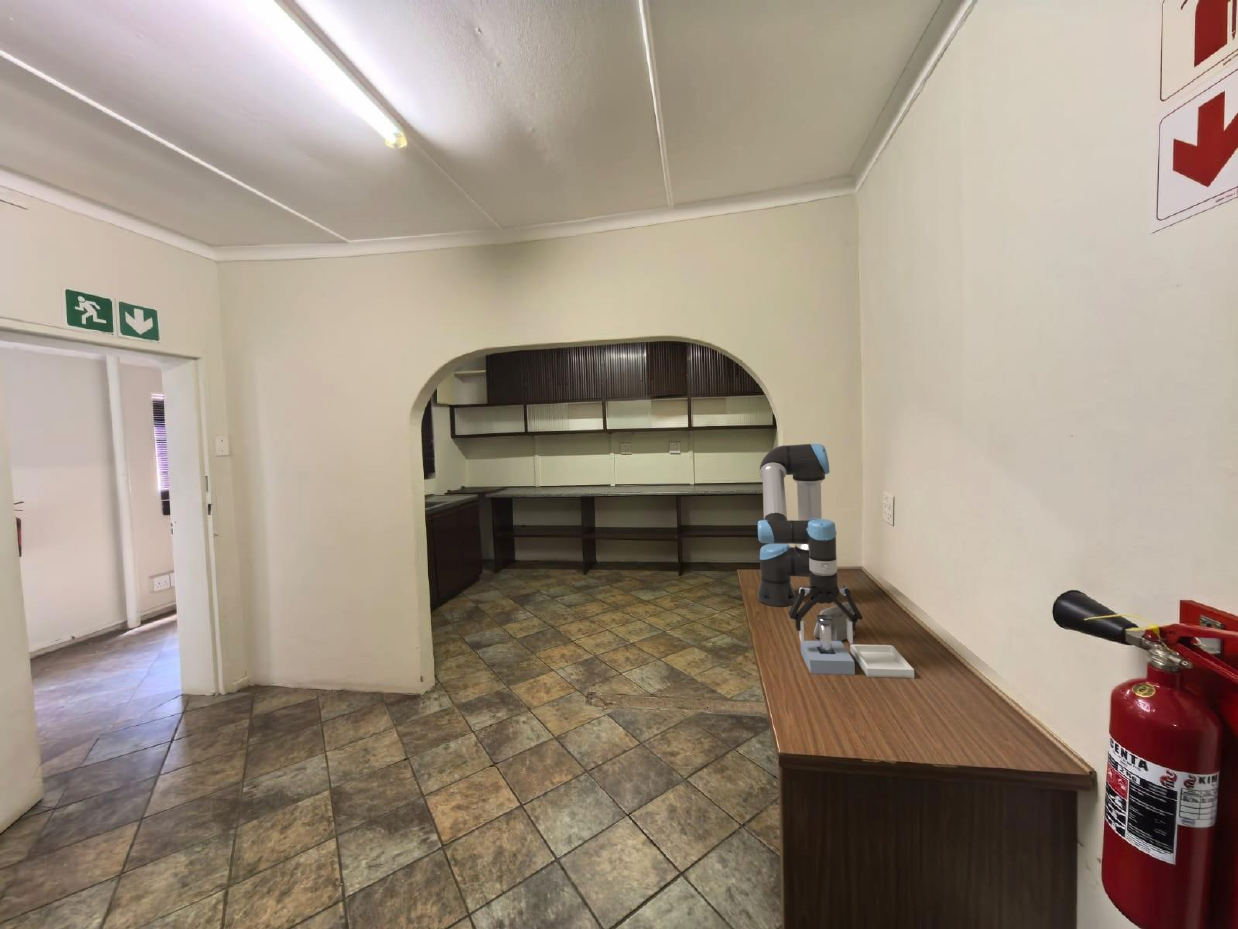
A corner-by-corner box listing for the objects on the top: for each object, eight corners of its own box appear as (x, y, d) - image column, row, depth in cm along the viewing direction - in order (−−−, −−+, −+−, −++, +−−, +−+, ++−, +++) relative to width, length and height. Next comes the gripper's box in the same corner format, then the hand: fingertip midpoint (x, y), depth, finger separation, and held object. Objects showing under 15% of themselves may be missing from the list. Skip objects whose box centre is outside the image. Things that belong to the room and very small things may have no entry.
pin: (816, 659, 135) (815, 614, 134) (832, 659, 134) (830, 614, 133) (820, 666, 131) (819, 620, 130) (836, 667, 130) (834, 620, 129)
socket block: (800, 652, 140) (800, 640, 139) (841, 653, 137) (840, 641, 137) (810, 673, 128) (809, 660, 127) (854, 674, 126) (854, 661, 125)
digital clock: (846, 625, 156) (845, 596, 155) (866, 636, 147) (865, 606, 146) (806, 633, 152) (805, 603, 151) (824, 645, 143) (823, 613, 142)
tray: (850, 652, 138) (850, 644, 138) (892, 653, 136) (892, 645, 135) (867, 677, 124) (867, 668, 124) (914, 678, 122) (914, 669, 122)
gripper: (781, 576, 129) (784, 646, 131) (873, 575, 125) (875, 647, 126) (777, 568, 137) (780, 634, 138) (863, 567, 132) (865, 635, 133)
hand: (825, 641), depth 132 cm, fingers open, 13 cm apart
